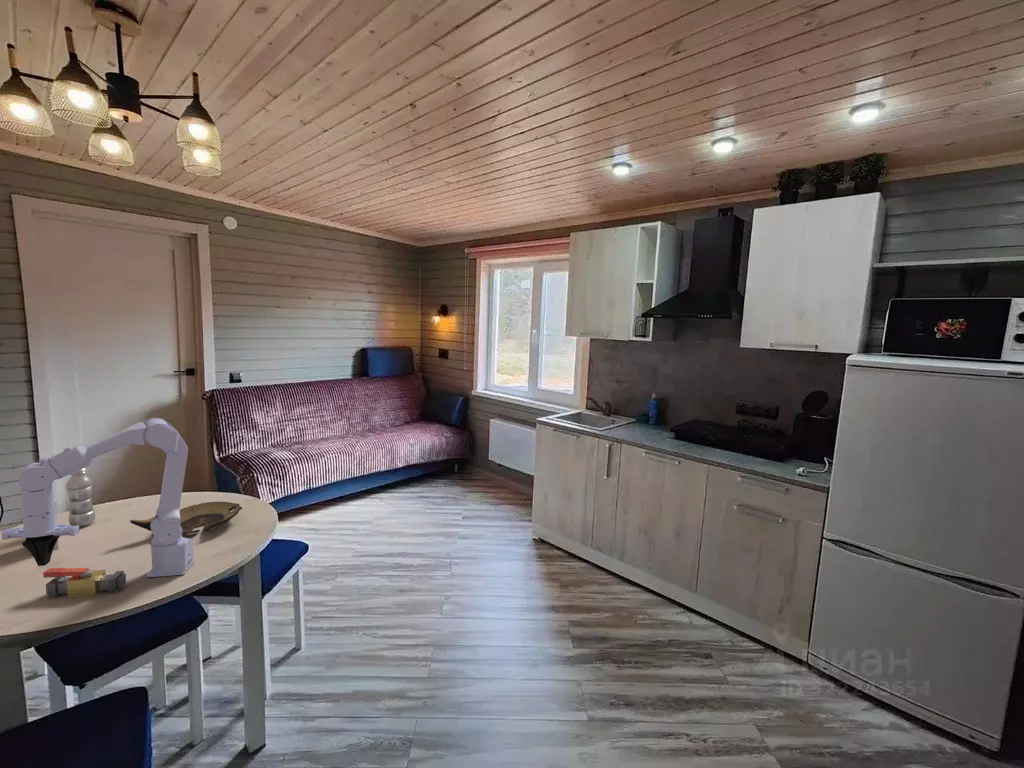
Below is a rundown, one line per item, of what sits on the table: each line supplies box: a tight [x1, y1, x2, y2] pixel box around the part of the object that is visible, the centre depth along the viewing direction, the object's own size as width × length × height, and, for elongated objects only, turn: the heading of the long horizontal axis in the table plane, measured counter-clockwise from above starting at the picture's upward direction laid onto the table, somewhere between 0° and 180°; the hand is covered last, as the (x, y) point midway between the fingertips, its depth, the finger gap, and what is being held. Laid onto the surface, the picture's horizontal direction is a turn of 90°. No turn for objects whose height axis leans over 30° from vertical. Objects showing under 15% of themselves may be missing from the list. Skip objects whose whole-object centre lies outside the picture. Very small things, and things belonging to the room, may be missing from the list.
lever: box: [42, 567, 93, 579], centre depth 121 cm, size 10×2×2 cm, turn 99°
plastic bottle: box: [65, 467, 96, 528], centre depth 157 cm, size 6×7×20 cm
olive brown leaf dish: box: [129, 501, 243, 535], centre depth 160 cm, size 22×30×8 cm
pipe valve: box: [45, 569, 127, 599], centre depth 122 cm, size 16×5×5 cm, turn 105°
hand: (44, 563), depth 116 cm, fingers closed
